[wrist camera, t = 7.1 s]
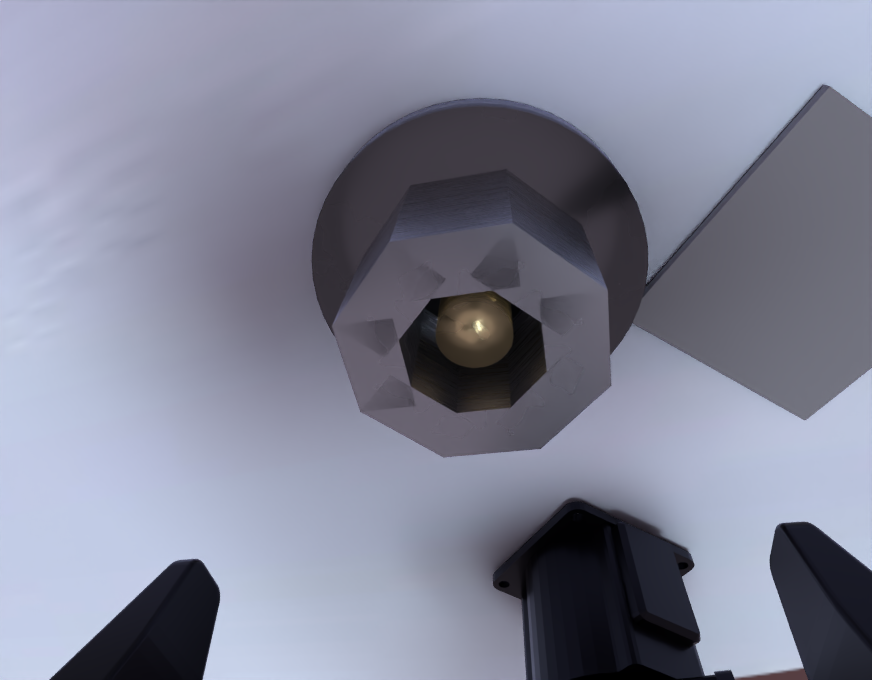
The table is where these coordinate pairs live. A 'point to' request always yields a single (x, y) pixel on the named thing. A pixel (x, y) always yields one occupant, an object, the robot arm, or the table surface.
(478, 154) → the hub
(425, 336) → the ring
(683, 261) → the stand pad
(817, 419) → the table surface
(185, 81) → the table surface
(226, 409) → the table surface
